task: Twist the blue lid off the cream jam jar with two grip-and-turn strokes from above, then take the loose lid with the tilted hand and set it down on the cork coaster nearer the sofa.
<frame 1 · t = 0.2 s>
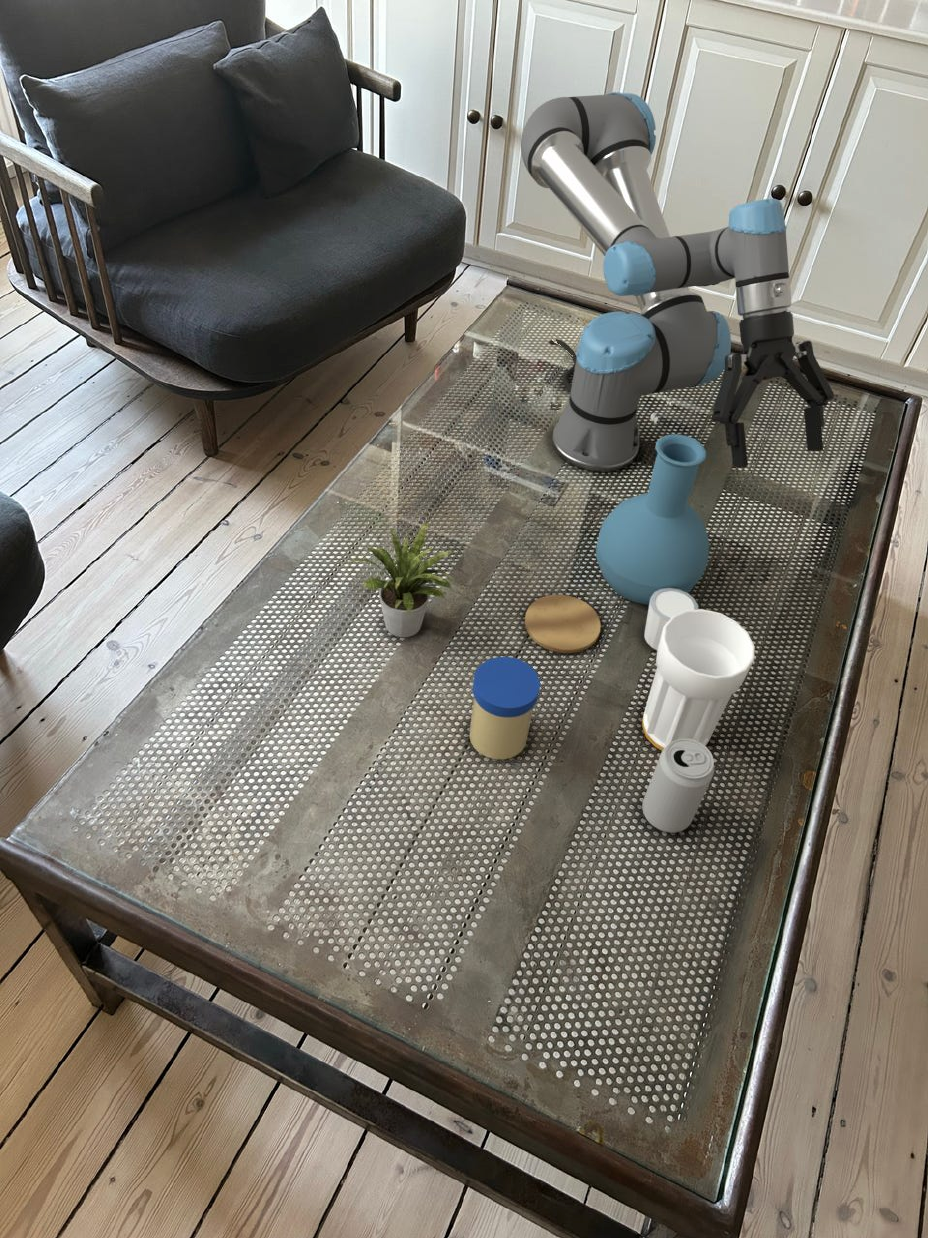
hand: (778, 458, 149), 16 cm above the table, tool tilted 35°, fingers open, 13 cm apart
house plant: (397, 630, 140), on the table
shot glass: (663, 638, 143), on the table
coaster: (562, 625, 143), on the table
jar lid: (506, 683, 121), point 11 cm above the table, screwed on, not yet turned
beverage can: (666, 814, 123), on the table
cup: (675, 729, 132), on the table
vase: (642, 581, 151), on the table
jar: (498, 735, 129), on the table
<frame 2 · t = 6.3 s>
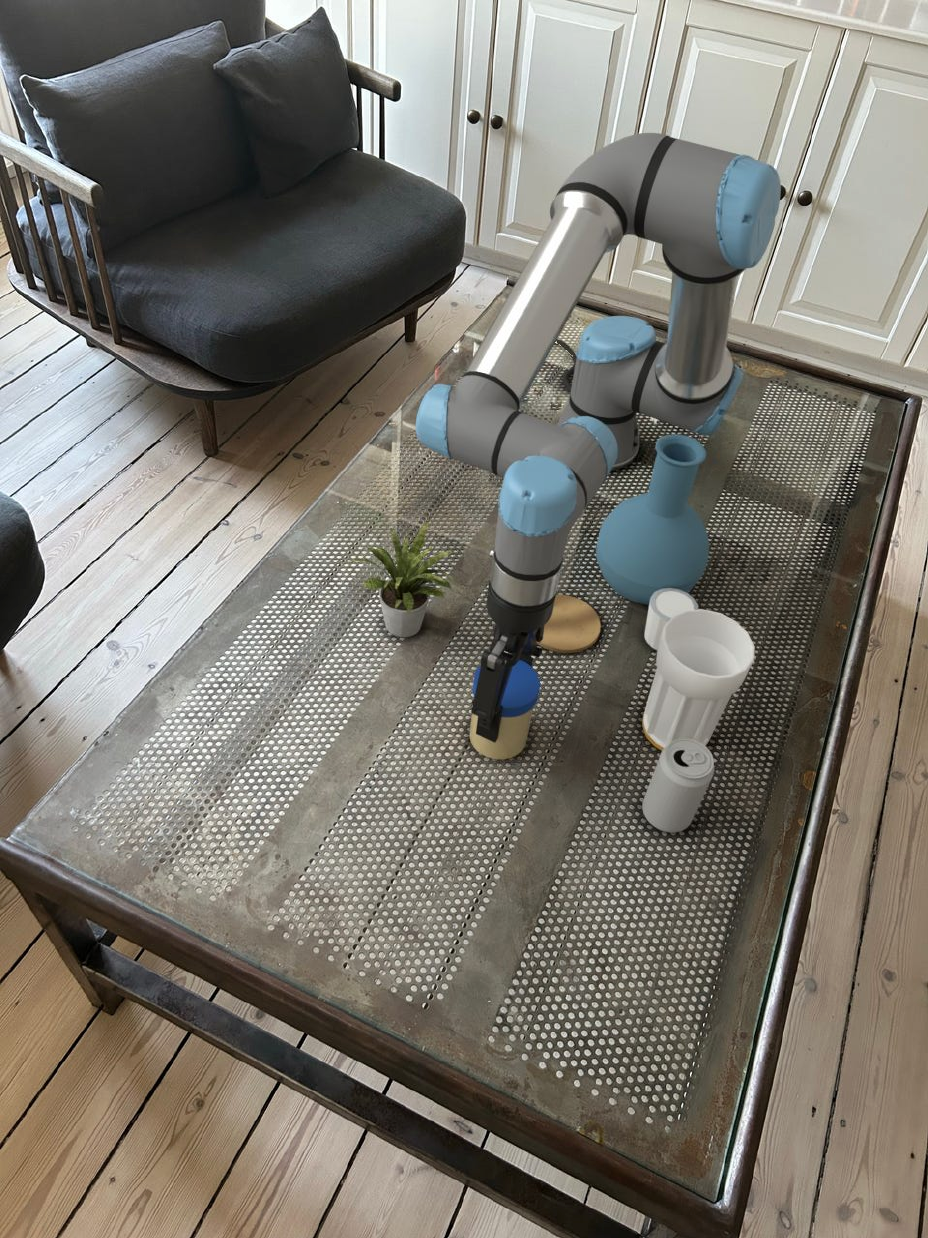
hand: (502, 711, 125), 5 cm above the table, tool pointing down, fingers closed on jar lid, 8 cm apart
jar lid: (506, 683, 121), point 11 cm above the table, screwed on, not yet turned, touching gripper
everything else where it was.
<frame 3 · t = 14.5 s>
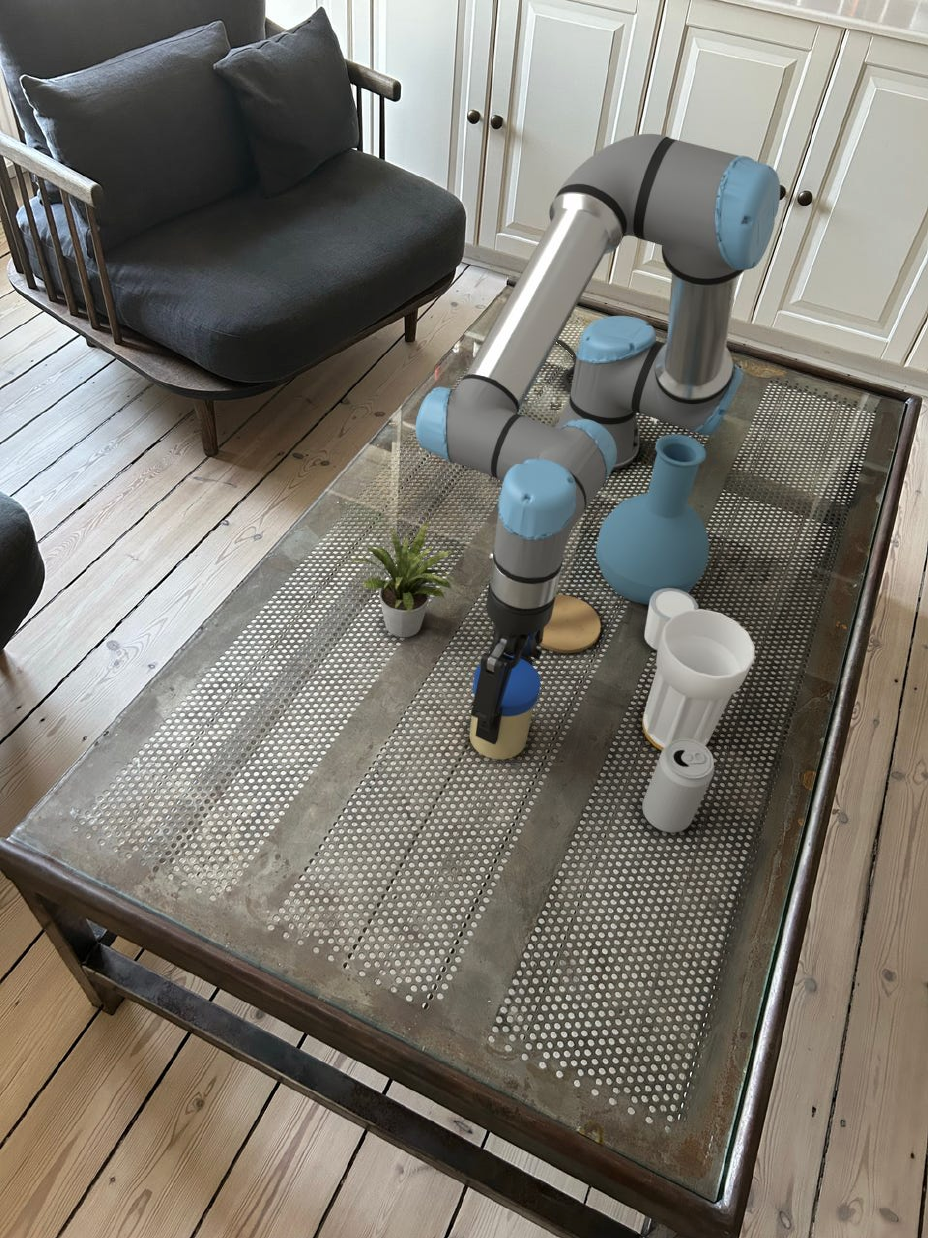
hand: (501, 713, 125), 5 cm above the table, tool pointing down, fingers closed on jar lid, 8 cm apart
jar lid: (506, 682, 121), point 11 cm above the table, turned 99° so far, risen 0.3 cm, still on its thread, touching gripper
everything else where it was.
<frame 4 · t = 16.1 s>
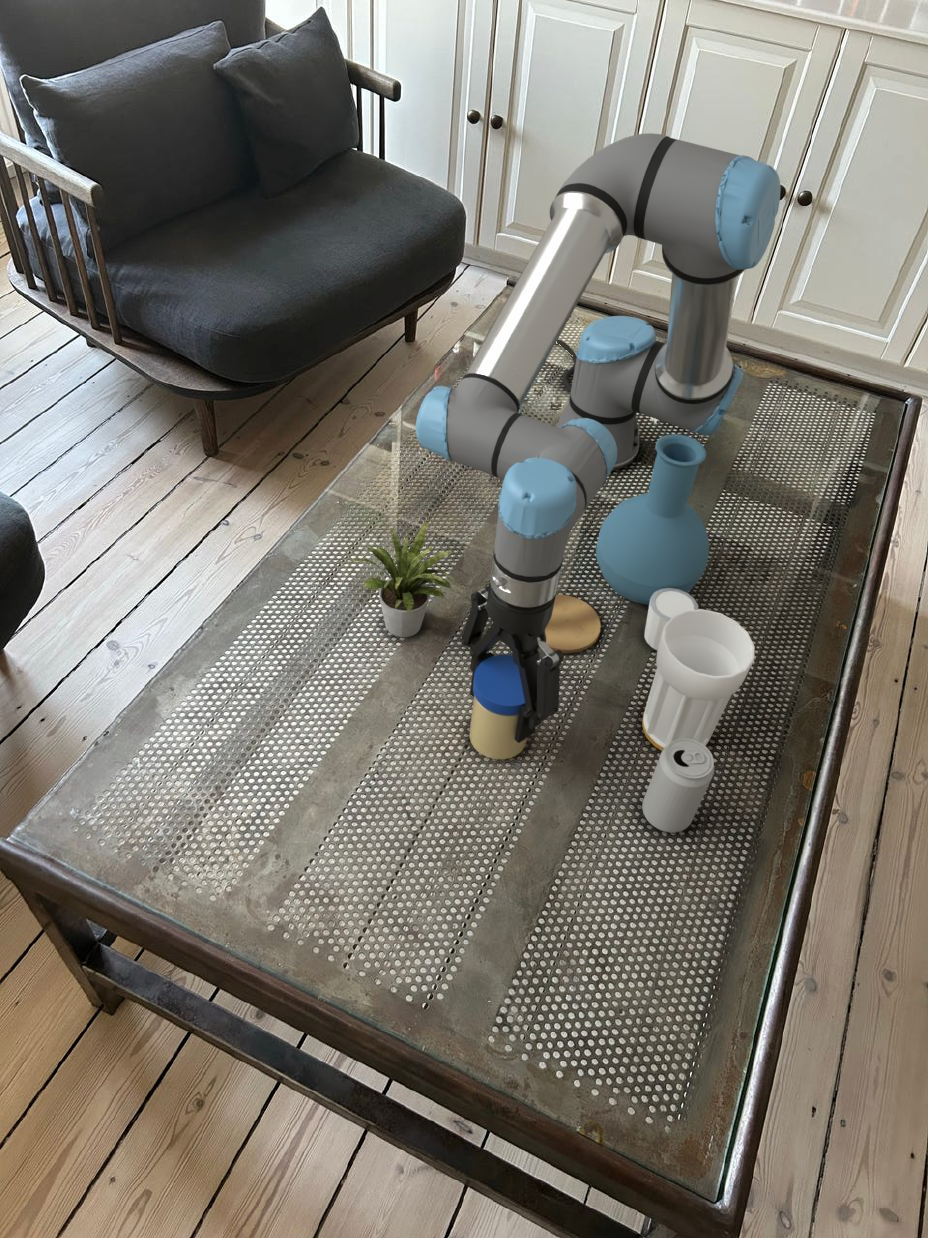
hand: (501, 713, 125), 5 cm above the table, tool pointing down, fingers closed on jar lid, 8 cm apart
jar lid: (507, 681, 121), point 11 cm above the table, off its thread, touching gripper
everything else where it was.
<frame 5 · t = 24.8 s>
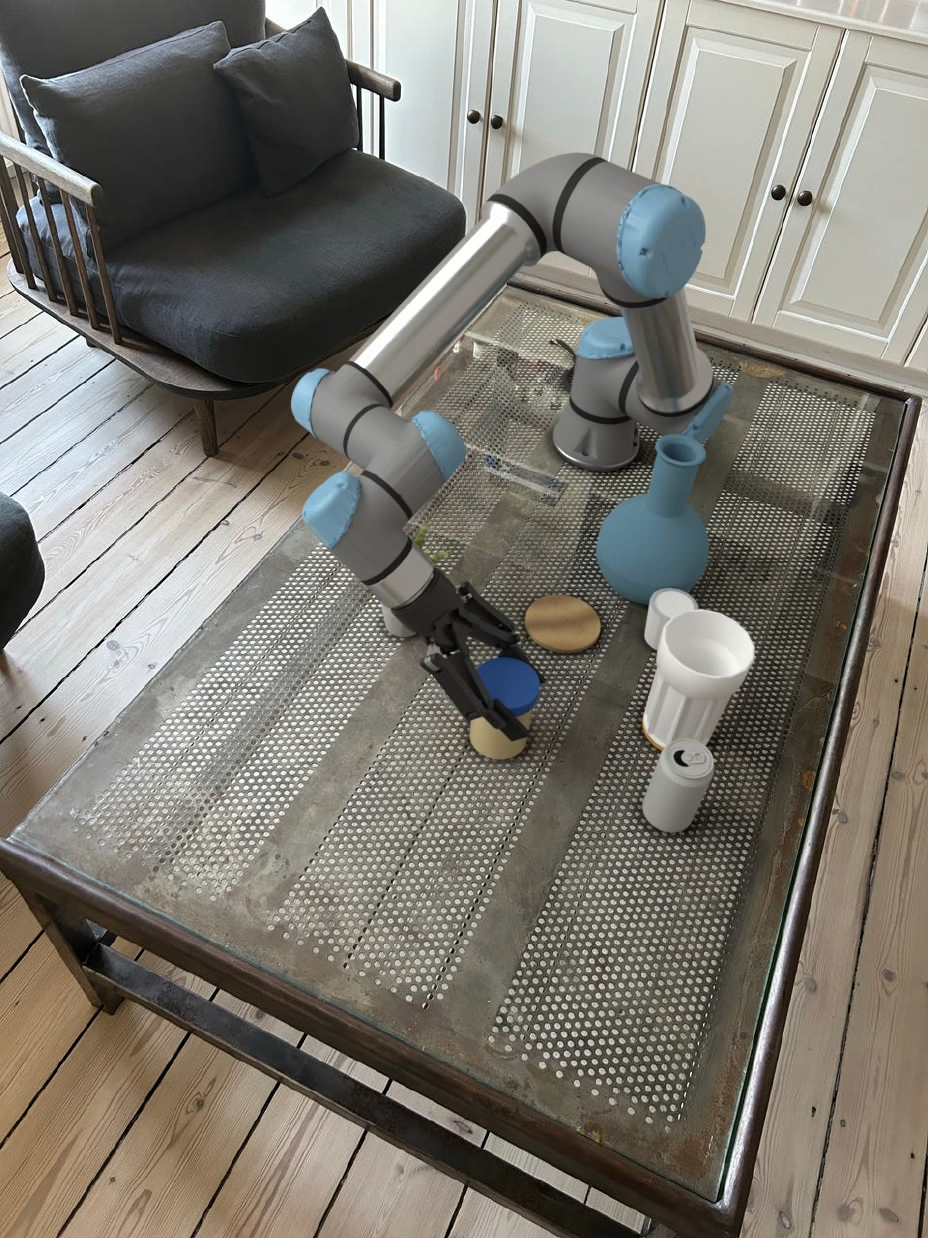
hand: (529, 709, 123), 7 cm above the table, tool tilted 45°, fingers closed on jar lid, 8 cm apart
jar lid: (506, 684, 121), point 11 cm above the table, off its thread, touching gripper, jar
jar: (498, 735, 129), on the table, touching jar lid
everything else where it was.
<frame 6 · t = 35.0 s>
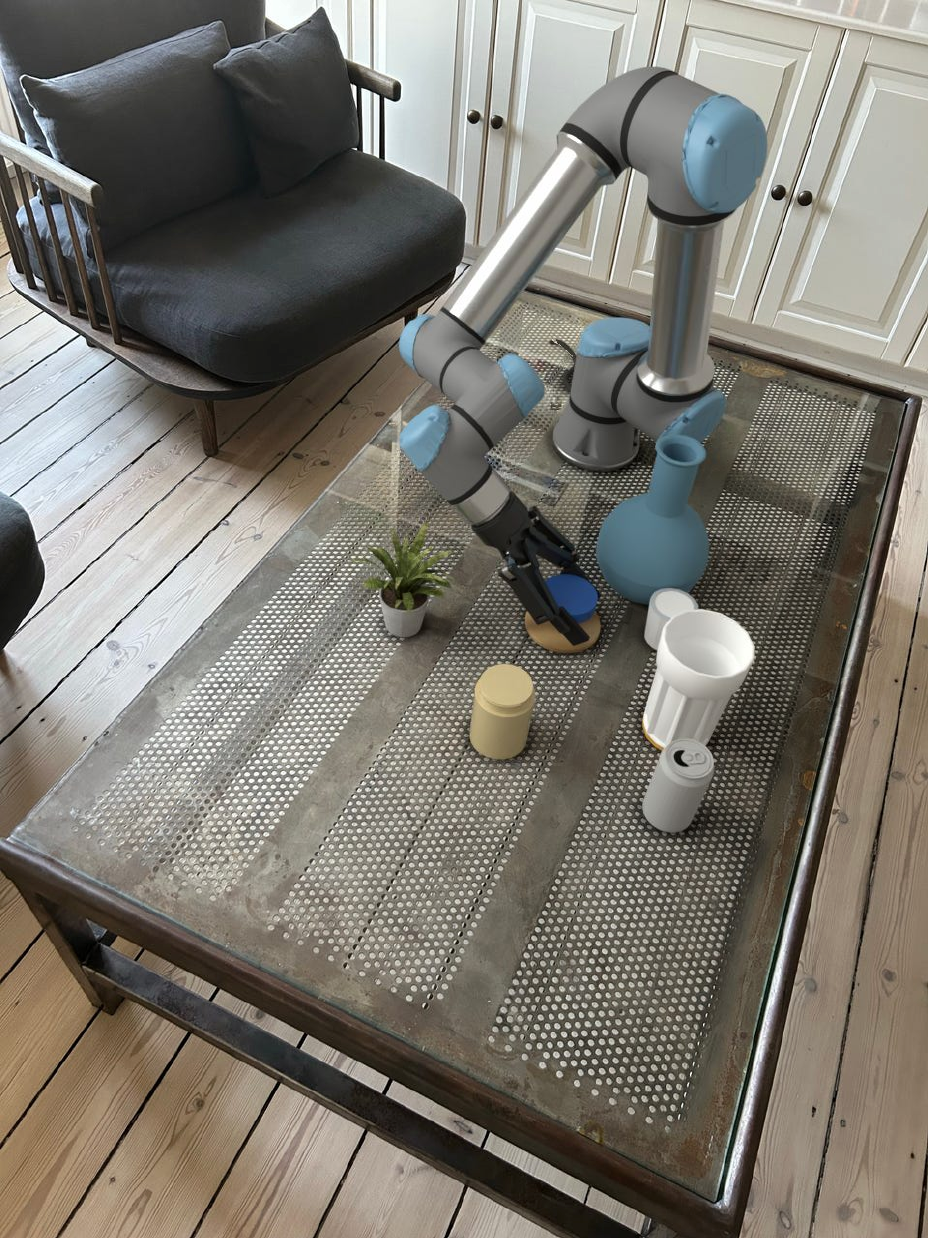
hand: (587, 619, 141), 2 cm above the table, tool tilted 45°, fingers closed on jar lid, 8 cm apart
jar lid: (568, 596, 139), point 6 cm above the table, off its thread, touching gripper
jar: (498, 735, 129), on the table
everything else where it was.
when the fingers open (2 cm above the table, at t = 45.3 s): jar lid drops 4 cm, resting on coaster.
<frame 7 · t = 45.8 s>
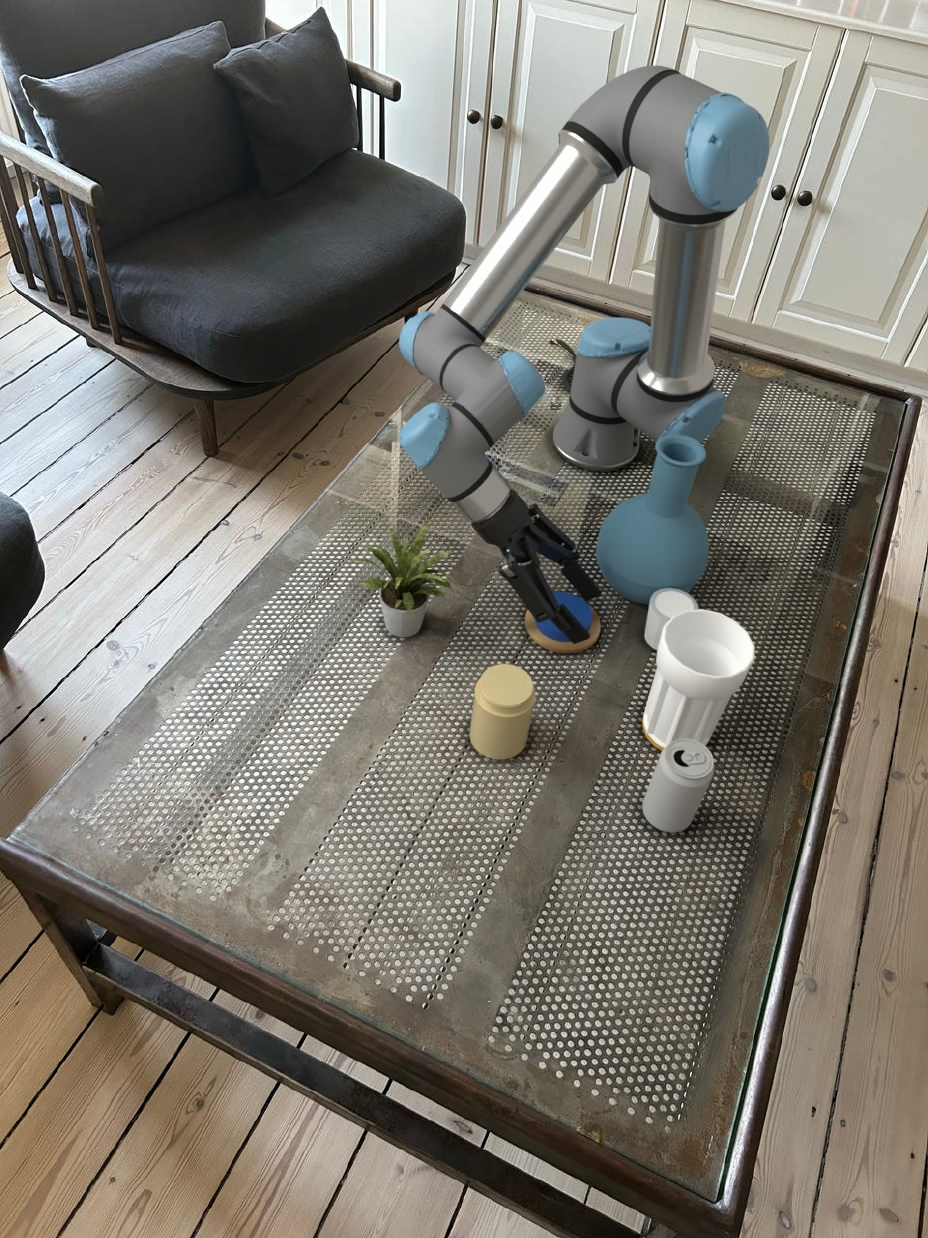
hand: (588, 617, 141), 3 cm above the table, tool tilted 45°, fingers open, 8 cm apart
jar lid: (563, 614, 141), point 2 cm above the table, off its thread, touching coaster
everything else where it was.
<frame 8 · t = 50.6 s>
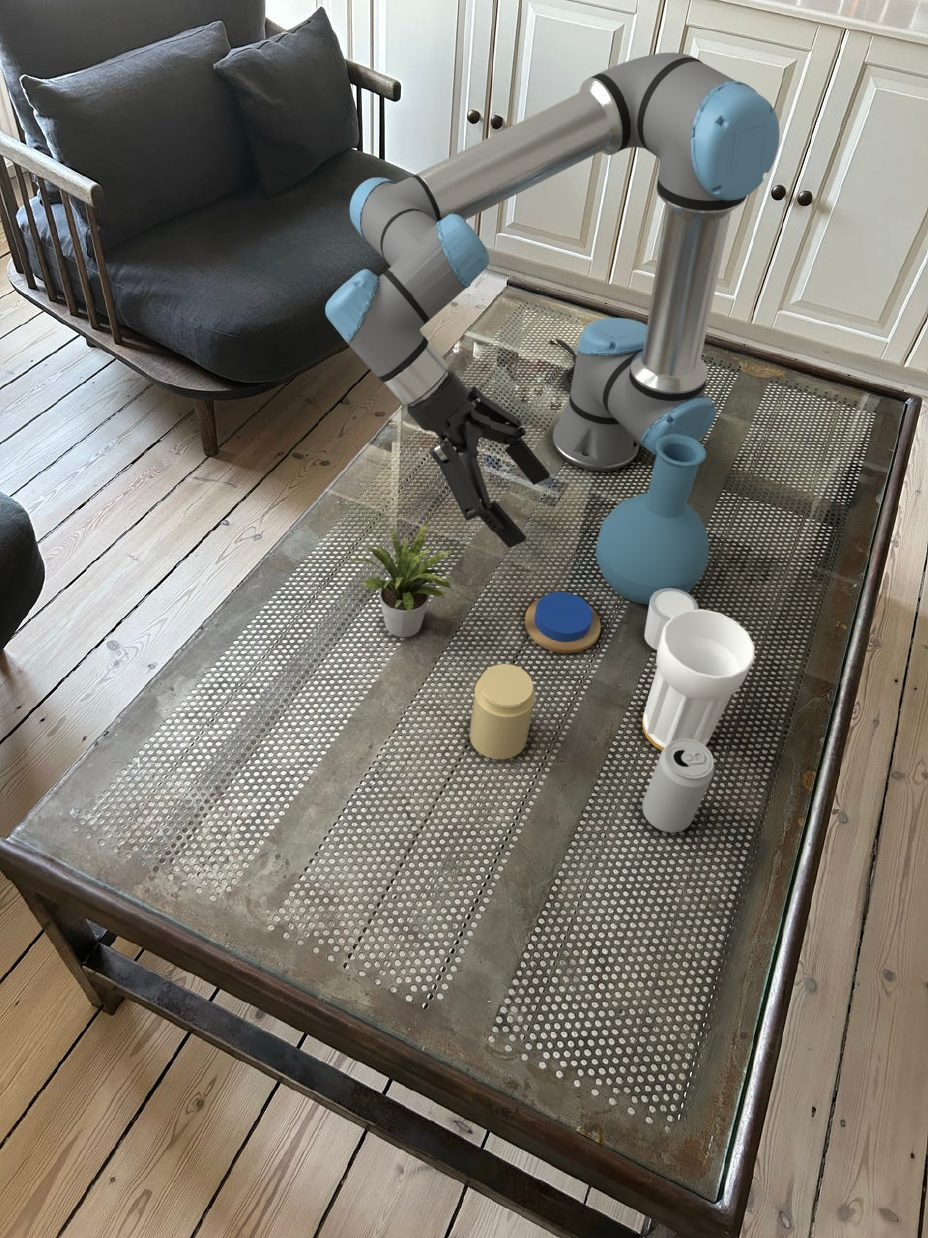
hand: (530, 510, 130), 20 cm above the table, tool tilted 45°, fingers open, 13 cm apart
nothing on the table moved.
at the end: jar lid inside the target area on the coaster (0.1 cm from its centre), point 2.3 cm above the coaster's base; the gripper is holding nothing; jar lid point 2.3 cm above the table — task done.
